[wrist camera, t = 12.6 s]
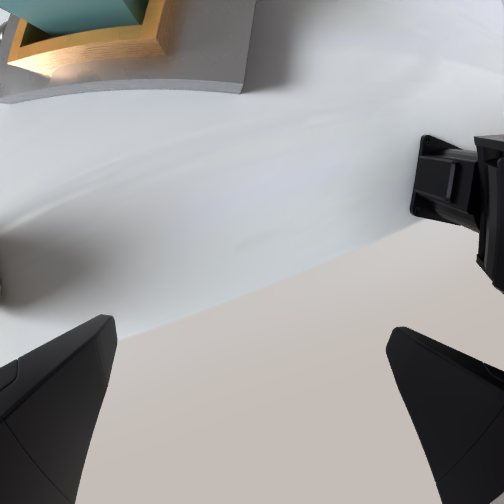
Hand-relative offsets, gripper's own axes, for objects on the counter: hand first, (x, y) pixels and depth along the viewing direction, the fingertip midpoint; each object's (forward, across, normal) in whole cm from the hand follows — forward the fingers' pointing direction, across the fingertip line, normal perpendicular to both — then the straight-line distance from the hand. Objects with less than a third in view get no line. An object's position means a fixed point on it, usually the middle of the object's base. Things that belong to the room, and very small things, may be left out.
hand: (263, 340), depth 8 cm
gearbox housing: (+12, +10, -15) cm, 22 cm away
